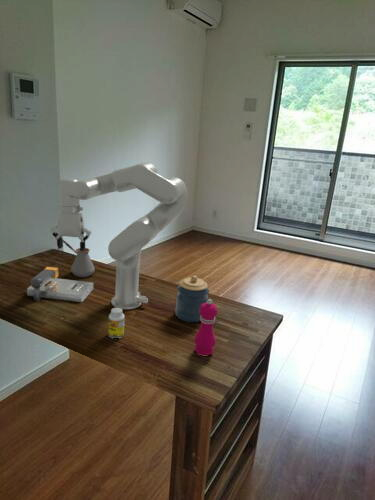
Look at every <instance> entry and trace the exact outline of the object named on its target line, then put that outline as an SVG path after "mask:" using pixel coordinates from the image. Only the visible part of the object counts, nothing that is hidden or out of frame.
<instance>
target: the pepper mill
mask: <svg viewBox="0 0 375 500" xmlns="http://www.w3.org/2000/svg"><path fill="white" fill-rule="evenodd" d="M200 314H201V316H200V321H201V322H200V328H199V329H198V331H197V332H196V334H195V336H194V343H195V347H194V351H196V352H197V353H198V354H201V355H210V354H212V353H213V354H214V347H215V346H216V340H217V339H216V336H215V333H214V329H213V327H214V326H213V325H214V323H215V321H216V316H217V315H218V307H217V305H216V304H215V303H213V300H212V299H211V298H208V300H207V302H206V303H203V304H202V305H201V307H200ZM196 352H195V353H196ZM198 354H197V355H198ZM213 354H212V355H213Z"/></svg>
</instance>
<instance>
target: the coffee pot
mask: <svg viewBox="0 0 375 500" xmlns="http://www.w3.org/2000/svg"><path fill="white" fill-rule="evenodd" d="M63 244H65V246H67V247H68V248H69V249H70V250H71V251H73V252H74V253H75V254H76V256H75V259H74V260H73V263H72V265H71V267H70V272H71V273H72V274H73V275H74V276H75V277H77V278H87V277H88V278H89V277H90V276H91V275H92V274H93V273H95V269H96V268H95V266H94V264H93V262H92V259H91V257H90V254H89V252H90V249H89V247H88V248H87V247H85V249H84V250H83V251H80V247H78V248H76V249H74V248H73V246H71V245H70V244H69V243H68V242H66V241H65V240H64V239H63Z"/></svg>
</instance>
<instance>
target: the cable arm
mask: <svg viewBox="0 0 375 500" xmlns="http://www.w3.org/2000/svg"><path fill="white" fill-rule="evenodd" d="M58 277H59V268H58V267H53V266H52V267H51V266H46V267H45V268H44V269H43V270H42V271H40V272H39V273H38V274H37V275H35V276H34V277H31V278H30V286H32V287H34V288H38V287H41V286H42V285H43V284H44V283H45V282H46V281H48V280H49V279H50V278H53V279H56V278H58Z"/></svg>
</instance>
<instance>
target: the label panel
mask: <svg viewBox="0 0 375 500" xmlns="http://www.w3.org/2000/svg"><path fill="white" fill-rule="evenodd" d="M93 290H94V282H92V281H91V282H90V281H83V280H82V281H81V280H73V279H65V278H58V277H57V278H56V279H53V278H50V279H49V280H48V281H46V282H45V283H44V284H43V285H42V286H41V287H40V298H46V299H55V300H64V301H70V302H71V301H72V302H76V303H77V302H78V303H82V302H84V301H85V299H86V298H87V297H88V296H89V295H90V294H91V292H92V291H93ZM26 293H27V294H26V295H27V296H30V297H34V287H32V286H31V285H29V287H27V288H26Z"/></svg>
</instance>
